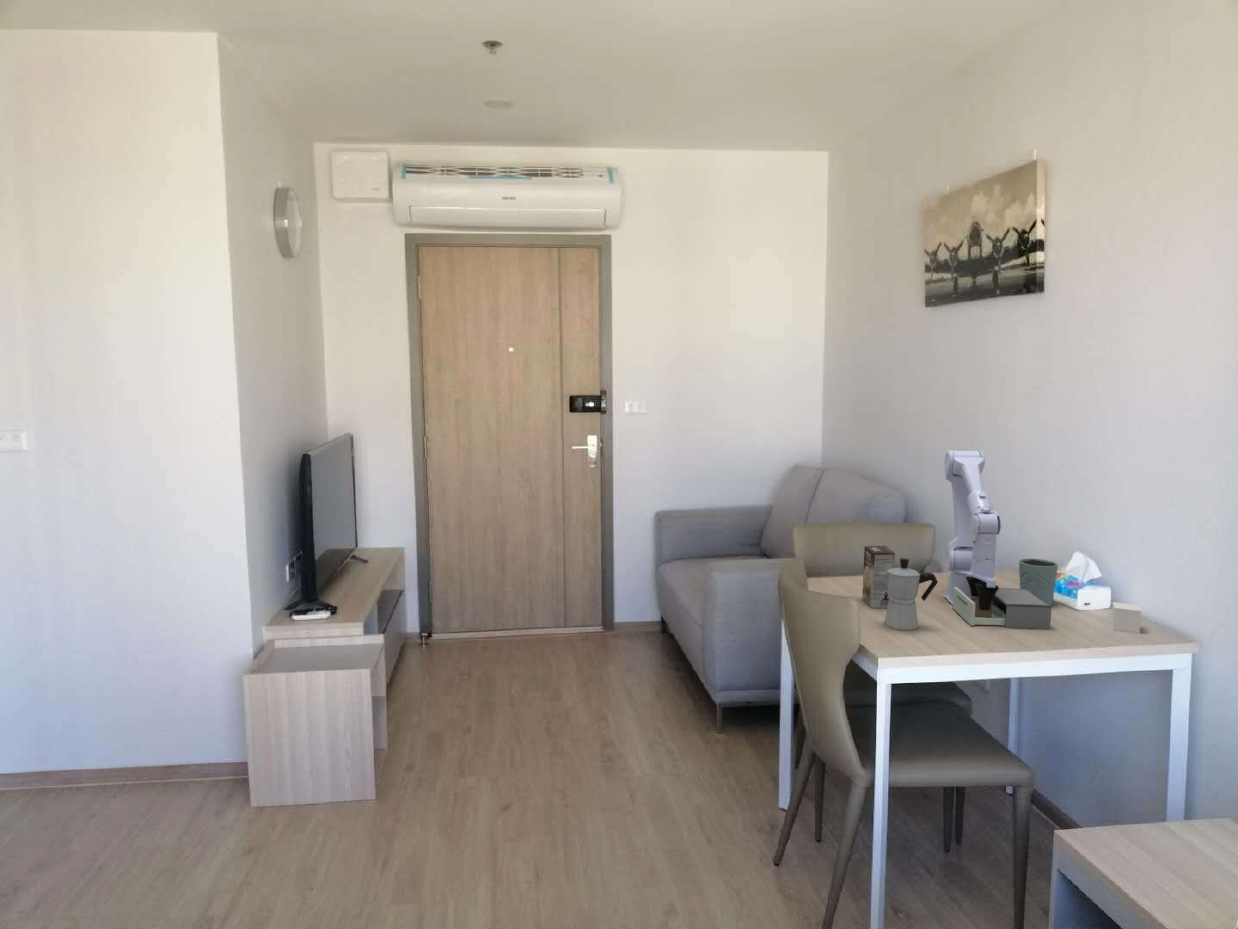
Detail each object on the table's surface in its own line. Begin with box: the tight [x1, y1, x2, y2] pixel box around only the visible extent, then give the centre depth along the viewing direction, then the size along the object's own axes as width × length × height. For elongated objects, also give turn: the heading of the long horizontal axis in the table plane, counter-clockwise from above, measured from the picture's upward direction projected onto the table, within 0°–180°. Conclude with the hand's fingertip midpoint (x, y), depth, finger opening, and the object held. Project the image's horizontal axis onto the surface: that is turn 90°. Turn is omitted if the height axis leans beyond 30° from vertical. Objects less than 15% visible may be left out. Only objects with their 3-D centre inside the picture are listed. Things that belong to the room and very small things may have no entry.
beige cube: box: [1110, 601, 1142, 634], centre depth 218 cm, size 6×6×6 cm
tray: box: [952, 587, 1006, 627], centre depth 226 cm, size 16×11×6 cm
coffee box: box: [862, 545, 896, 609], centre depth 239 cm, size 9×6×16 cm
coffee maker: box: [879, 557, 939, 632], centre depth 218 cm, size 15×9×18 cm, turn 82°
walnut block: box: [969, 596, 993, 618], centre depth 226 cm, size 5×5×4 cm
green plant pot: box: [1018, 558, 1059, 606], centre depth 241 cm, size 10×10×12 cm
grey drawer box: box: [992, 587, 1053, 630], centre depth 225 cm, size 16×11×6 cm
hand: (980, 606), depth 226 cm, fingers open, 6 cm apart
